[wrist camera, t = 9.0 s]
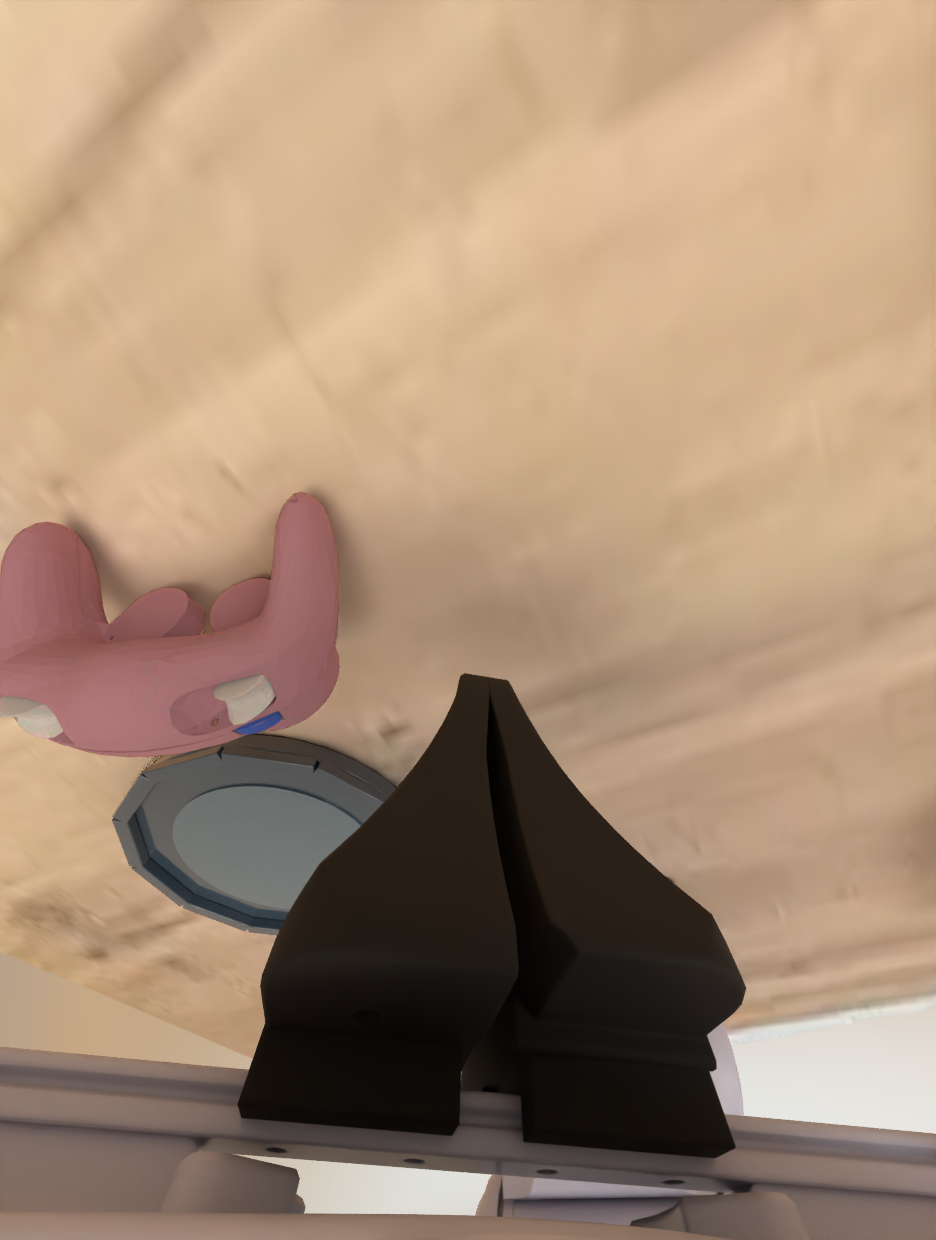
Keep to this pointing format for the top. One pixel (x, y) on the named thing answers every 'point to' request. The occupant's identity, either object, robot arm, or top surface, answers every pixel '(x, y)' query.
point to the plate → (244, 824)
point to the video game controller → (167, 646)
